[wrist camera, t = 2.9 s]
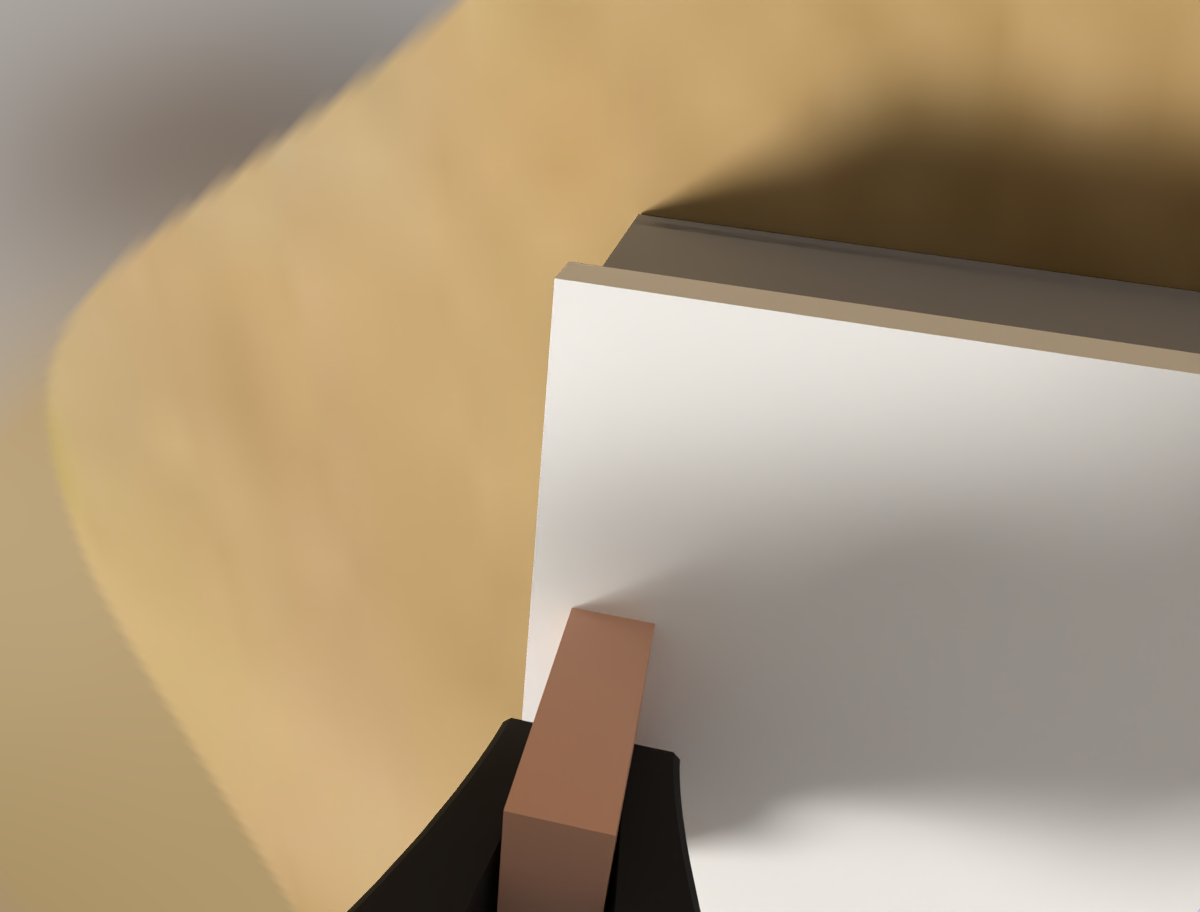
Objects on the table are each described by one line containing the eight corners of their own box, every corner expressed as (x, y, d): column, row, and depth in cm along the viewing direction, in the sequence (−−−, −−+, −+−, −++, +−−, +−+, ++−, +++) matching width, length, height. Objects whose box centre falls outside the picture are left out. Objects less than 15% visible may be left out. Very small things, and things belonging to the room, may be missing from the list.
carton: (1262, 300, 13) (1445, 399, 10) (982, 870, 20) (1029, 1052, 16) (639, 214, 14) (596, 274, 11) (571, 780, 21) (531, 933, 17)
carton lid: (1482, 395, 9) (1980, 648, 5) (1034, 1075, 16) (1117, 1398, 12) (568, 261, 10) (454, 394, 7) (512, 949, 17) (441, 1208, 13)
